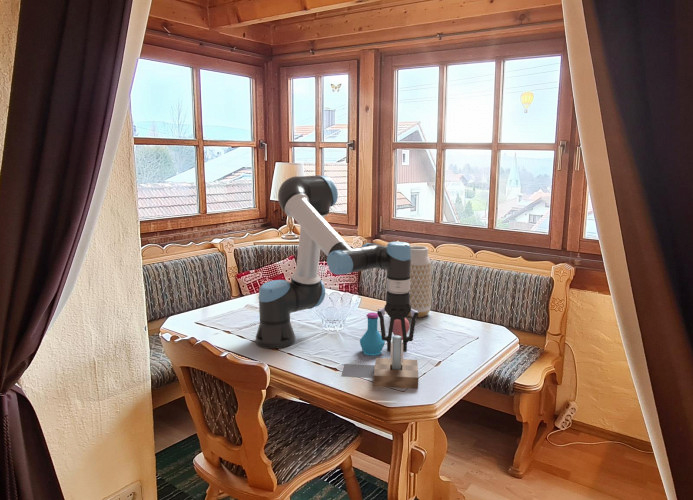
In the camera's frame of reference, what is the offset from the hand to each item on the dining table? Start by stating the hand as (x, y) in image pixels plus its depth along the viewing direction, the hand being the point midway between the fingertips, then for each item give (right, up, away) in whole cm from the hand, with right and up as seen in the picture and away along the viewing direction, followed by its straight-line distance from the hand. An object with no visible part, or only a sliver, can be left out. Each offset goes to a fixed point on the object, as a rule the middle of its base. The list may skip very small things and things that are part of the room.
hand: (396, 360), depth 173 cm
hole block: (0, -6, +1) cm, 6 cm away
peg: (0, -4, +1) cm, 4 cm away
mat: (-12, -5, +6) cm, 14 cm away
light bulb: (+4, -1, +29) cm, 29 cm away
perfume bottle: (-7, -2, +23) cm, 24 cm away
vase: (+15, +7, +67) cm, 69 cm away
